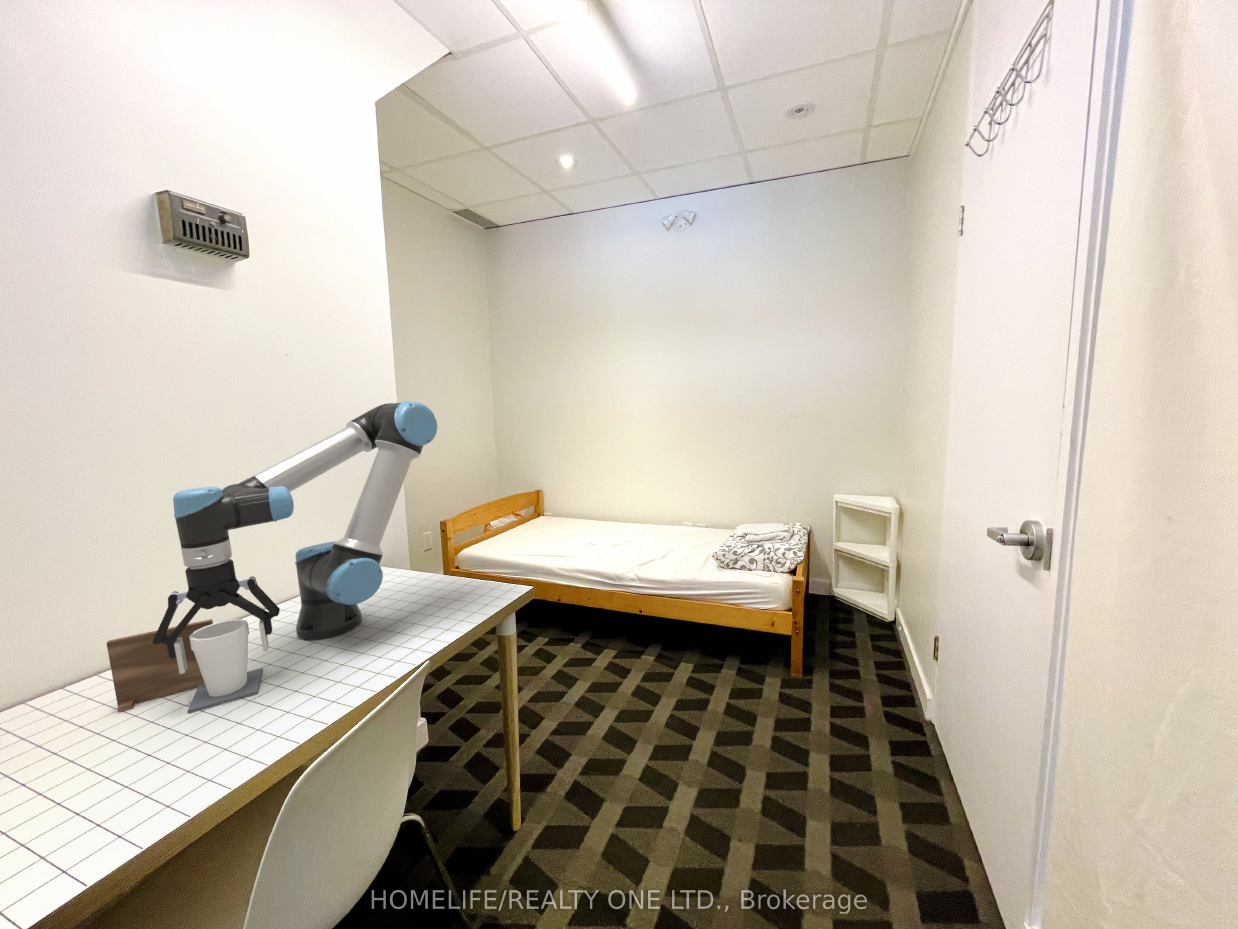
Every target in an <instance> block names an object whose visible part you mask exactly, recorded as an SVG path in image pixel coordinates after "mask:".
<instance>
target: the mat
mask: <svg viewBox="0 0 1238 929" xmlns="http://www.w3.org/2000/svg"><path fill="white" fill-rule="evenodd" d="M263 671H264V670H263V667H261V668H256V669H253V670H247V683H246V684H245V686H243V687H242V688H240V689H239V690H237V691H235V692H232V693H230V694H227V695H223V696H216V697H213V696H209V693H208V691H207V688H206V687H203V684H204V683H203V684H199V686H198V688H196V690H195V692H194V695H193V697H192V700H191V702H190V704H189V706H188V708H187V710H186V711H187V714H191V713H196V712H198V711H203V710H206V709H209V708H212V707H217V706H219V705H223V704H227V703H230V702H233V701H237V700H241V699H245V698H248V697H250V696H251V697H252V696H255V695H258V694H259V691H260V684H261V680H262V675H263Z"/></svg>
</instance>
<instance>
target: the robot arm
mask: <svg viewBox="0 0 1238 929" xmlns="http://www.w3.org/2000/svg"><path fill="white" fill-rule="evenodd" d="M437 433H438V420H437V418H436V417H435V414H434V412H433V411H432V410H431V409H430V408H429V407H428V406H427V405H426V404H423V403H420V402H416V401H414V402H413V401H409V400H408V401H404V402H393V403H392V402H391V403H389V402H388V403H384V404H380V405H378V406H376V407H375V406H374V407H373V408H372V409H370V410H368V411H366V412H364V413H363V414H360V415H359V416H357V417H355V418H354V419H352V420H350V421H348V422H347V423H346V425H345V428H342V429H341V430H339V431H337V432H335V433H333V434H331V435H329V436H327V437H325V438H324V439H322V440H319V441H317V442H315V443H314V444H312V445H310V446H308V447H305V448H304V449H303V450H300V451H298V452H297V453H295V454H294V453H293V454H292V455H291V456H289V457H287V458H284V459H283V460H281V461H279V462H277V463H275V464H273V465H272V466H270V467H267V468H265V469H263V470H261V471H260V472H258V473H256V474H254V475H252V476H251V477H248V478H246V479H245V480H243V481H240V482H238V483H233V484H229V485H226V486H224V487H222V488H220V487H218V486H205V487H196V488H190V489H189V488H188V489H184V490H180V491H177V492H176V493H175V494H174V495H173V497H172V501H173V512H174V514H173V516H174V518H175V524H176V528H177V529H176V530H177V534H178V539H179V544H180V550H181V555H182V560H183V561H182V562H183V565H184V566H185V567H187V568H186V569H185V571H184V572H185V578H186V582H187V583H186V584H187V588H188V590H187V591H181V592H179V591H176V590H175V591H173V592H171V593H170V594H169V596H168V598H167V609H166V611H165V613H164V615H163V617H162V619H161V622H160V625H159V626H158V629H157V630H158V631H157V630H156V631H157V633H156V635H155V637H154V640H153V643H154V644H159V643H164V644H166V645H167V647H168V652H169V657H170V658H171V659H173V658H177V662H178V668H179V673H180V674H183V673H185V672H186V670H187V668H188V665H187V660H186V655H185V649H184V644H183V639H182V638H178V639H177V637H178V636H179V635H180V633H181V632H182V631H183V630H184V628H185V627H186V626H187V624H190V623H191V622H192V619H193V618H195V616H196V615H197V613H198V612H199V611H200V610H201V609H204V610H211V609H213V608H216V607H217V608H219V607H225V606H227V605H228V604H231V605H233V606H235V607H238V608H240V609H242V610H243V611H245V612H246V613H248V614H250V615H252V616H254V617H255V618H257V619H259V621H258V622H259V623H258V628H259V632H260V641H261V646H262V651H263V653H266V652H269V647H270V645H269V638H268V635H272V632H273V625H272V619H273V618H274V617H278V616H279V615H280V611H281V610H280V607H279V606H278V605H277V604H276V603H275V602H274V600H272V599H271V597H270V596H269V595H267V593H266V592H265V591H264V590H263V589H262V588H261V587H260V586H259V584H258V582H257V579H256V577H255V576H249V577H248V578H247V579H243V580H241V581H240V580H238V579H237V576H236V570H235V565H234V564H235V563H234V560H233V559H231V558H232V557H233V553H232V545H231V540H230V536H229V531H231V530H236V529H241V528H246V527H250V526H256V525H262V524H267V523H271V522H277V521H280V520H284V519H288V518H290V517H292V515H293V513H294V509H295V507H294V506H295V505H294V499H293V495H292V493H291V492H293V491H296V490H297V489H298V488H300V487H302V486H304V485H306V484H307V483H309V482H310V481H313V480H314V479H316V478H318V477H319V476H321V475H322V474H325V473H326V472H329V471H330V470H332V469H333V468H335V467H337V466H338V465H340V464H342V463H344V462H346V461H348V460H350V459H351V458H353V457H355V456H357V455H358V454H360V453H362V452H367V453H369V452H372V450H375V449H377V453H376V455H375V458H374V460H373V462H372V466H371V468H370V469H369V473H368V475H367V477H366V480H365V483H364V485H363V488H362V490H361V493H360V495H359V497H358V500H357V502H356V506H355V508H354V510H353V513H352V515H351V518H350V521H349V522H348V525H347V528H346V530H345V532H344V536H343V537H342V538H340V539H338V540H336V541H327V542H323V543H318V544H314V545H309V546H306V547H305V546H304V547H302V548H300V549H298V550H297V551H296V553H295V562H294V564H295V567H296V574H297V581H298V589H299V595H300V596H299V597H300V603H301V605H300V609H299V614H298V618H297V622H296V626H295V629H296V636H297V637H298V639H300V640H306V641H311V640H312V641H313V640H314V641H316V640H325V639H328V638H331V637H332V638H333V637H336V636H340V635H342V634H344V633H347V632H349V631H351V630H353V629H355V628H357V627H358V626H359V625H360V624H361V622H362V621H363V620H362V611H361V610H360V607H359V606H358V605H359V604H362V603H363V602H366V601H367V600H369V599H370V598H372V597H373V596H374V595H375V594H376V593H377V592H378V590H379V589H380V587H381V585H382V584H383V583H382V582H383V579H384V573H383V570H382V567H381V565H380V563H381V561H382V558H383V556H384V553H383V551H382V549H381V543H382V540H383V538H384V535H385V532H386V530H387V527H388V524H389V521H390V519H391V516H392V514H393V511H394V508H395V506H396V503H397V500H398V498H399V495H400V492H401V489H402V487H403V485H404V482H405V479H406V476H407V473H408V471H409V468H410V467H411V463H412V461H414V460H416V459H418V458H420V457H421V456H420V455H421V454H422V450H423V448H424V446H426V445H428V444H429V443H431V442H432V441H434V439H435V437H436V435H437ZM240 588H243V589H245V590H246V591H248V590H249V591H250V594H252V596H254V598H256V600H257V601H258V602H259V603H260V604H261V605H262V606H263V607H264V608H265V609H266V610H265V609H264V608H262V607H260V606H258V605H257V604H256V603H254V602H252V601H250V600H249V599H246V598H245V597H243V595H242V594H240V593H239V592H238V591H239V590H240ZM185 599H187V600H188V601H190V602H192V603H193V605H192V606H191V608H190V609H189V610H188V612H187V613H186V614H185V615H184V617H183V618H182V620H180V622H179V623H178V624H177V625H176V626H177V627H176V626H175V627H176V628H175V629H174V631H173V632H172V633H171V634H170V635H165V634H166V632H167V629H168V628H170V624H171V622H172V620H173V618H174V616H175V613H176V611H177V609H178V606H179V605H180V604H182V603H183V602H184V600H185Z"/></svg>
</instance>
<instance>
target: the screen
mask: <svg viewBox="0 0 1238 929" xmlns="http://www.w3.org/2000/svg"><path fill="white" fill-rule="evenodd" d="M213 621H214V620H213V618H211V619H206V620H202V621H198V622H192V623H191V622H190V623H188V624H187V626H186V627H185V628H184V630H183V631H182V632H181V633H180V635H179V636H178V637H177V639H178V638H182V639H183V644H184V649H185V655H186V660H187V665H188V668H187V670H186V672H185V673H183V674H180V673H179V668H178V662H177V658H173V659H171V658H170V657H169V652H168V647H167V645H166V644H164V643H159V644H154V643H153V640H154V637H155V635H156V633H157V631H158V629H157V630H154V631H148V632H142V633H138V634H134V635H130V636H129V635H127V636H125V637H120V638H115V639H110V640H107V642H106V648H107V653H108V659H109V666H110V670H111V676H112V677H111V678H112V681H113V686H114V693H115V698H116V703H117V704H116V705H117V712H118V714H119V713H122V712H126V711H130V710H133V709H134V707H135V706H136V704H140V703H145V702H148V701H152V700H156V699H160V698H164V697H167V696H172V695H175V694H179V693H182V692H186V691H190V690H193V689H197V688H198V686H199V684H203V683H204V680H203V677H202V674H201V671H200V668H199V666H198V663H197V660H196V657H195V654H194V651H193V650H192V649H191V644H190V638H189V636H190V635H191V634H192V633H193V632H194V631H197V630H199V629H201V628H203V627H205V626H208V625H211V624H214V622H213ZM177 626H178V625H176V626H172V627H168V629H167V632H166V634H165V635H170V634H171V633H172V632H173V631H174V629H175V628H176V627H177ZM203 687H206V685H205V683H204V684H203Z"/></svg>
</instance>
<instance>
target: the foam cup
mask: <svg viewBox="0 0 1238 929" xmlns="http://www.w3.org/2000/svg"><path fill="white" fill-rule="evenodd" d="M249 628H250V627H249V622H248V620H247V619H240V618H239V619H238V618H237V619H228V620H223V621H219V622H215V623H214V622H213V624H211V625H208V626H205V627H203V628H201V629H199V630H197V631H194V632H193V633H192V634H191V635H190V636H189V638H190V644H191V649H192V650H193V651H194V654H195V657H196V660H197V663H198V666H199V668H200V671H201V674H202V677H203V680H204V683H205V685H206V688H207V691H208V693H209V696H213V697H216V696H223V695H227V694H230V693H232V692H235V691H237V690H239V689H240V688H242V687H243V686H245V684H246V683H247V672H248V661H249V660H248V656H249V653H248V651H249V635H250V629H249Z"/></svg>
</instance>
